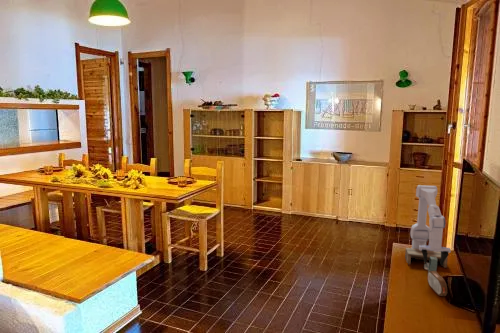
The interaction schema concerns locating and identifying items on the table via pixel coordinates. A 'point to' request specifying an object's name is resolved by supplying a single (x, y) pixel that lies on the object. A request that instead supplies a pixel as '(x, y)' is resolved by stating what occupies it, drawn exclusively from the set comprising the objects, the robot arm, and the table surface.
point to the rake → (431, 264)
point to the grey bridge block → (418, 255)
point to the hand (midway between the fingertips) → (433, 264)
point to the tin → (437, 283)
